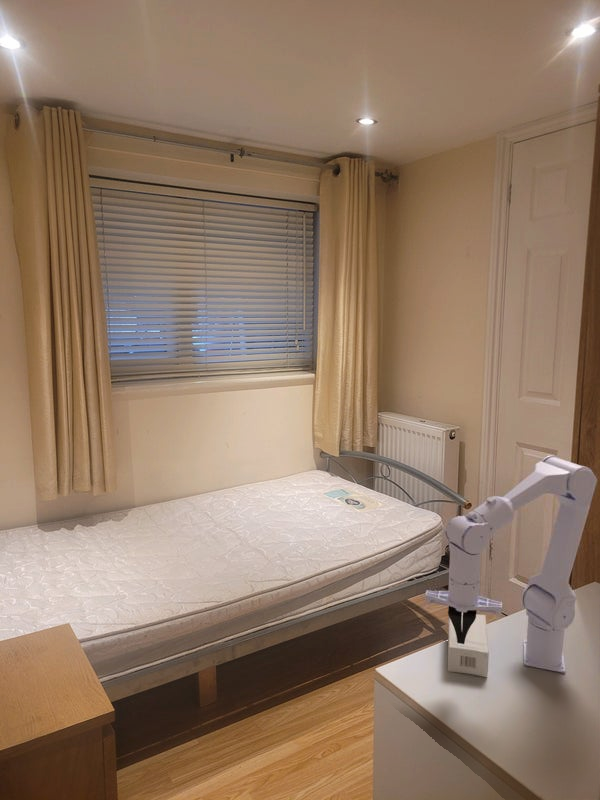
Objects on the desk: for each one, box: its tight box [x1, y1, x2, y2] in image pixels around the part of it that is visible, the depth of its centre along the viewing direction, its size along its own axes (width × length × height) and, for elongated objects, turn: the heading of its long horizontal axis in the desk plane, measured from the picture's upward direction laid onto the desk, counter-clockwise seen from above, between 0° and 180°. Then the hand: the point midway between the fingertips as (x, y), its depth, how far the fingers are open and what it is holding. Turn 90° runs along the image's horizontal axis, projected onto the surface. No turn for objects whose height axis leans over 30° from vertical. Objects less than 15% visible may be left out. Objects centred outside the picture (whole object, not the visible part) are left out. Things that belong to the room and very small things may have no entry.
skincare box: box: [447, 612, 490, 678], centre depth 127 cm, size 8×6×15 cm
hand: (461, 640), depth 116 cm, fingers closed
